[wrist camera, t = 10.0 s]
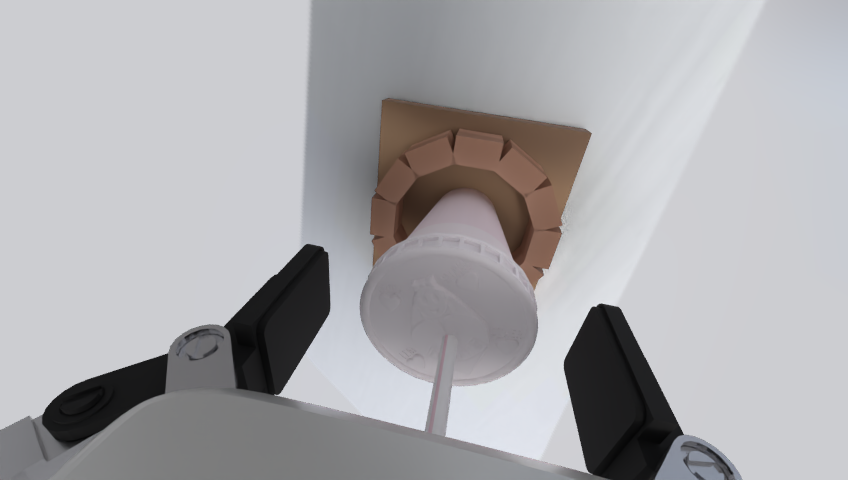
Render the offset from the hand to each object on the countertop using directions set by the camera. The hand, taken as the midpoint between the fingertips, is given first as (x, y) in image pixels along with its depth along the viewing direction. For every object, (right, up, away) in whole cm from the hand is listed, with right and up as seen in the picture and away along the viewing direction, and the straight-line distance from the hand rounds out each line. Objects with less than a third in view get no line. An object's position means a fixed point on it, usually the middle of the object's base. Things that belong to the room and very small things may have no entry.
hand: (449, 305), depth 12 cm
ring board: (+2, +4, +9) cm, 10 cm away
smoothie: (+2, +4, +8) cm, 9 cm away
